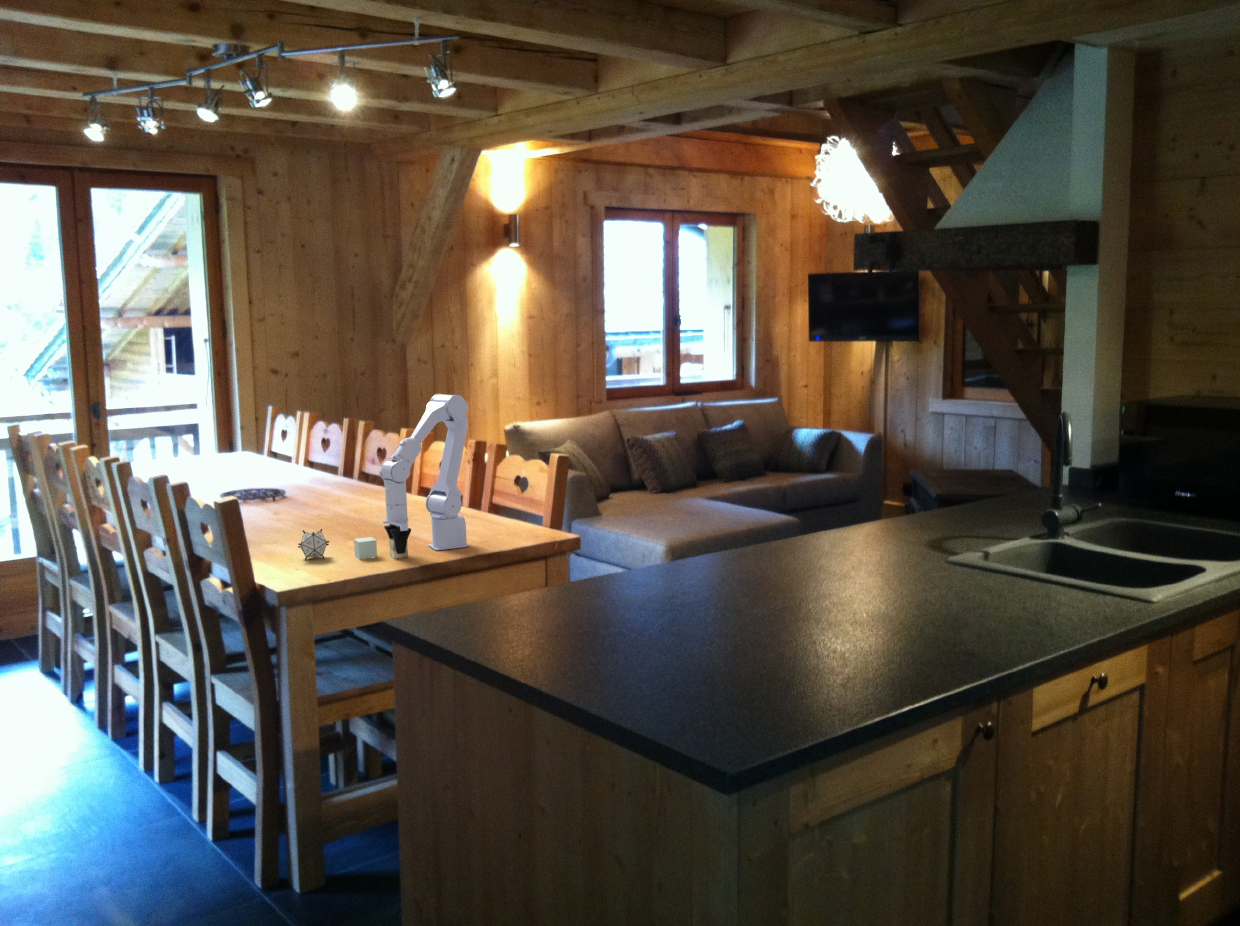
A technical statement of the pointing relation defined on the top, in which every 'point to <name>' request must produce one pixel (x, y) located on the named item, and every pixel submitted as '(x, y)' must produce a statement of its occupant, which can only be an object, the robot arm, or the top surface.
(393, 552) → the birch block
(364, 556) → the base block
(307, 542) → the game die
